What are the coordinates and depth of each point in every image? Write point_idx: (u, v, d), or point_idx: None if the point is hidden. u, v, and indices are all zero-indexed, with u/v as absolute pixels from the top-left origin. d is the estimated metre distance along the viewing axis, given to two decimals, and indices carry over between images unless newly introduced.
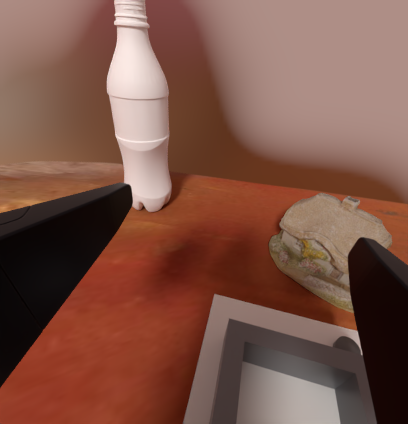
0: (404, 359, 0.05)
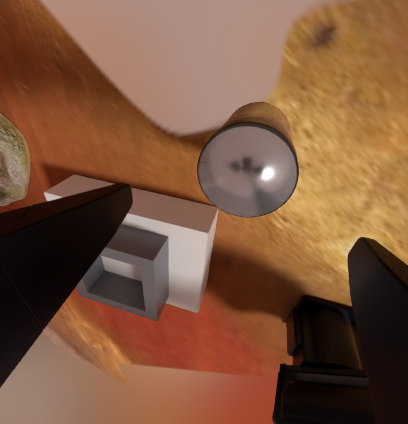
0: (404, 359, 0.05)
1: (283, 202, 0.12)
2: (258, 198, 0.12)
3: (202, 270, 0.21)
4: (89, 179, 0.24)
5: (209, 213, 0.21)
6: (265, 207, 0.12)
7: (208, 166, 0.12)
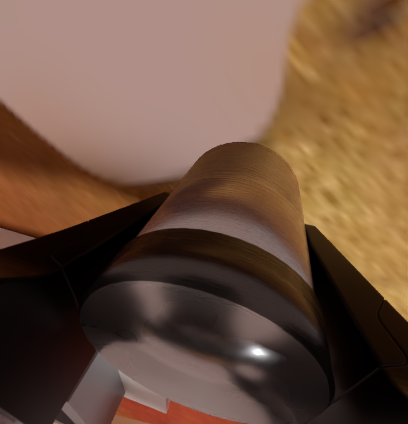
0: None
1: (289, 422, 0.05)
2: (228, 398, 0.05)
3: None
4: (8, 233, 0.17)
5: None
6: (246, 417, 0.05)
7: (104, 330, 0.05)
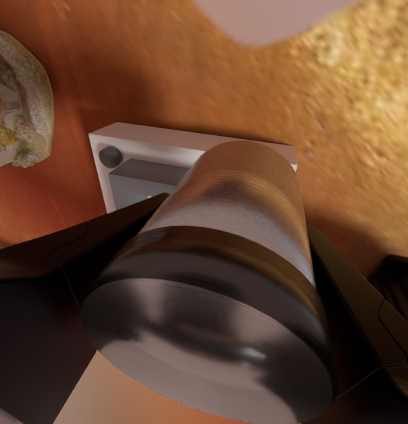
0: None
1: (291, 422, 0.05)
2: (230, 398, 0.05)
3: None
4: (135, 125, 0.20)
5: (287, 150, 0.17)
6: (248, 416, 0.05)
7: (105, 329, 0.05)
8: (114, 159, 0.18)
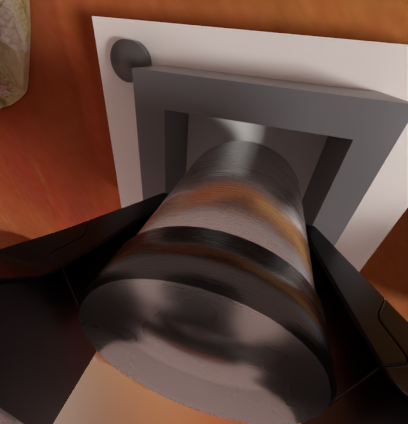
0: None
1: (290, 422, 0.05)
2: (229, 398, 0.05)
3: None
4: None
5: None
6: (246, 416, 0.05)
7: (104, 329, 0.05)
8: (138, 61, 0.10)
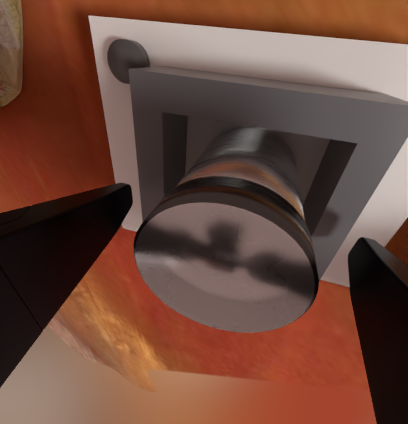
0: (404, 359, 0.05)
1: (287, 322, 0.07)
2: (242, 310, 0.07)
3: None
4: None
5: None
6: (255, 324, 0.07)
7: (151, 257, 0.07)
8: (136, 62, 0.10)
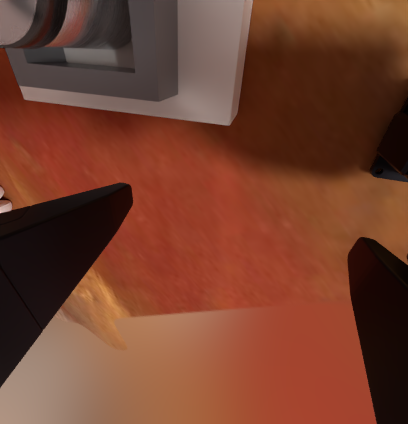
0: (404, 359, 0.05)
1: None
2: None
3: None
4: None
5: None
6: (19, 11, 0.08)
7: None
8: None
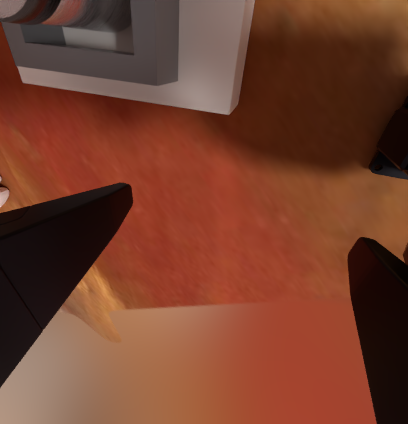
0: (404, 359, 0.05)
1: None
2: None
3: None
4: None
5: None
6: None
7: None
8: None
